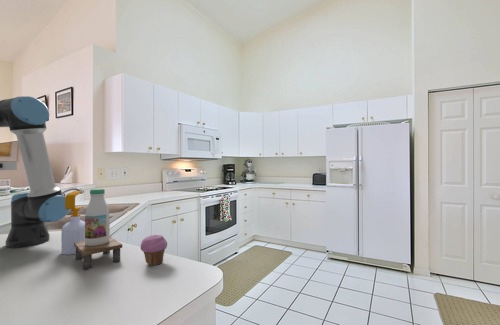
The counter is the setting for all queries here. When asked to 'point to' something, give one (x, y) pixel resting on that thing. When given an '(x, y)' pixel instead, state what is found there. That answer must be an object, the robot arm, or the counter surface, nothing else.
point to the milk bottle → (97, 219)
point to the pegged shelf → (96, 251)
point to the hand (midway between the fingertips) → (16, 166)
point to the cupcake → (154, 249)
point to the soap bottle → (72, 226)
